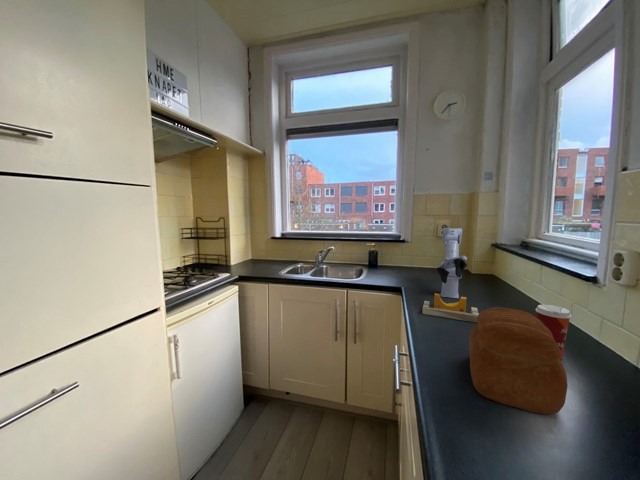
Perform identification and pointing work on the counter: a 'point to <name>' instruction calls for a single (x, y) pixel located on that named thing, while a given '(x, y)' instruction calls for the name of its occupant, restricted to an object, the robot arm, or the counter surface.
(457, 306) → the pipe clamp
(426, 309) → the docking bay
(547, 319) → the paper cup
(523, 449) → the counter surface
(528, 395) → the bread
